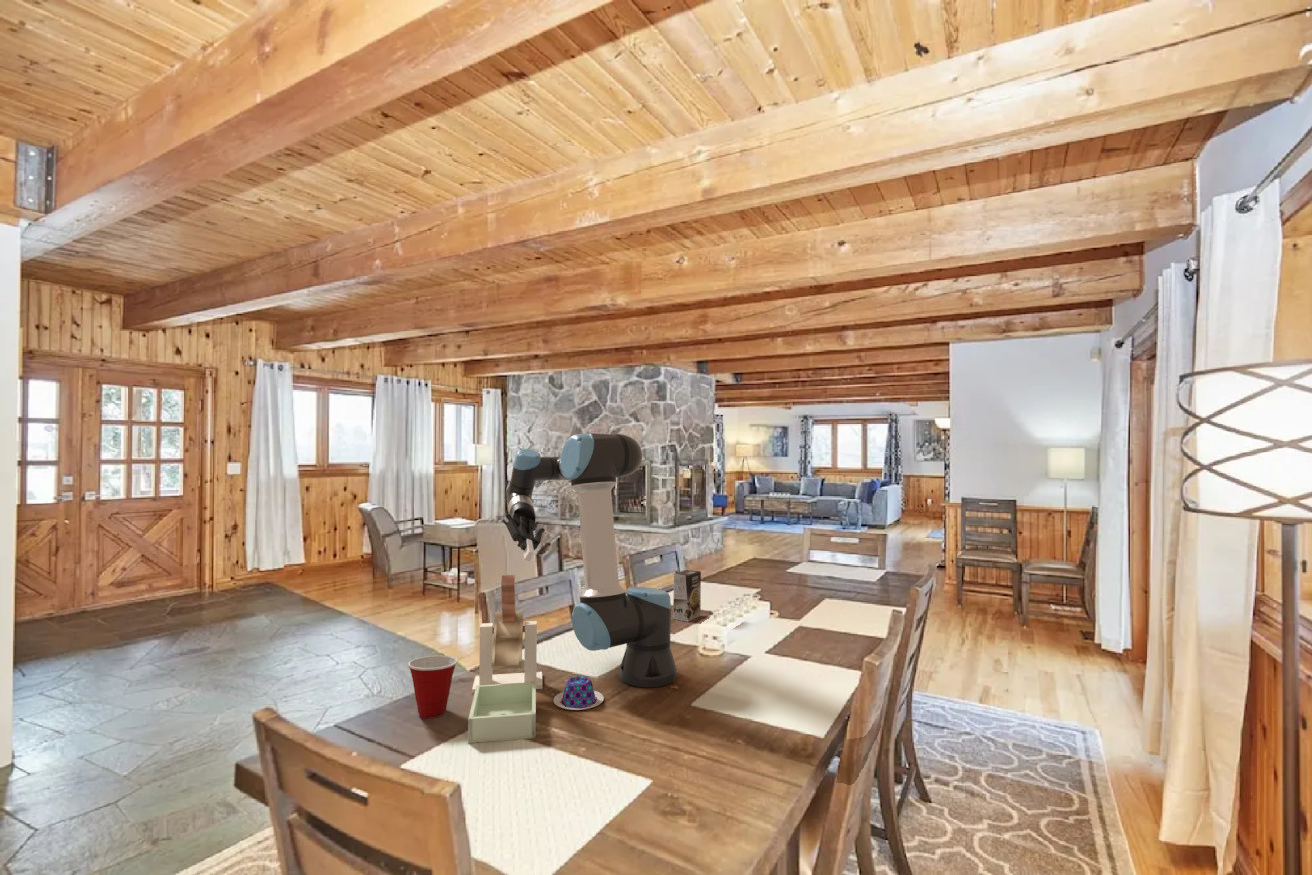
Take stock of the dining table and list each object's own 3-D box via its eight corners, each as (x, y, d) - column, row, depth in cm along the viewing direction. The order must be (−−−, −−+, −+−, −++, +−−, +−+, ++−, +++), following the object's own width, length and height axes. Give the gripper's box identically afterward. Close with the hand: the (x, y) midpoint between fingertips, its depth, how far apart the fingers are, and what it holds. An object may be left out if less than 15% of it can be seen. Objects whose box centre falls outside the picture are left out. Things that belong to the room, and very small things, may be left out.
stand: (475, 679, 161) (476, 619, 161) (542, 675, 165) (542, 616, 165) (472, 693, 153) (472, 630, 153) (542, 688, 156) (542, 626, 156)
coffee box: (688, 622, 214) (688, 575, 214) (672, 619, 217) (672, 573, 217) (701, 616, 221) (701, 570, 221) (685, 613, 225) (686, 568, 225)
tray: (476, 707, 145) (476, 685, 145) (535, 702, 147) (535, 681, 147) (468, 743, 128) (468, 718, 128) (535, 737, 130) (535, 713, 130)
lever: (495, 614, 160) (493, 574, 151) (523, 613, 161) (522, 573, 153) (491, 669, 147) (489, 628, 139) (521, 667, 149) (521, 626, 140)
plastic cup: (465, 703, 147) (465, 652, 147) (445, 724, 136) (445, 669, 136) (421, 701, 148) (421, 650, 148) (397, 721, 137) (398, 667, 137)
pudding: (587, 716, 141) (587, 693, 141) (543, 706, 146) (543, 684, 146) (612, 697, 152) (613, 675, 152) (571, 688, 157) (571, 667, 157)
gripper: (534, 530, 191) (543, 575, 170) (496, 514, 185) (500, 559, 164) (546, 510, 189) (557, 553, 168) (508, 494, 183) (514, 536, 163)
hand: (529, 556), depth 166 cm, fingers closed
